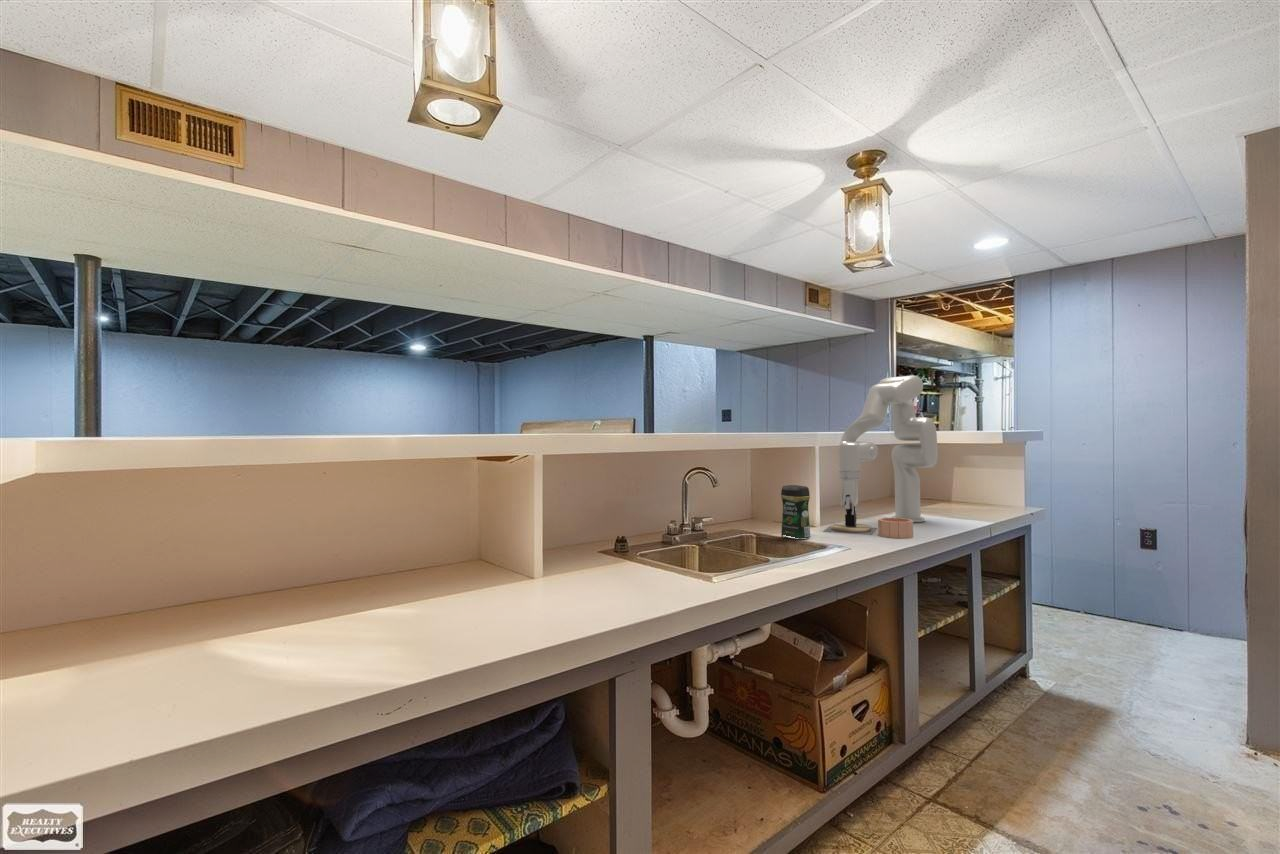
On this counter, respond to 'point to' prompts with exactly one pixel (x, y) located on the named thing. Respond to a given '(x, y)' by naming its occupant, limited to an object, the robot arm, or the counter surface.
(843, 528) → the oak lid
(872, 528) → the rubber mat
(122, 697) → the counter surface
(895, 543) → the counter surface
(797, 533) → the coffee jar
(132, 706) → the counter surface
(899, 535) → the terracotta bowl
